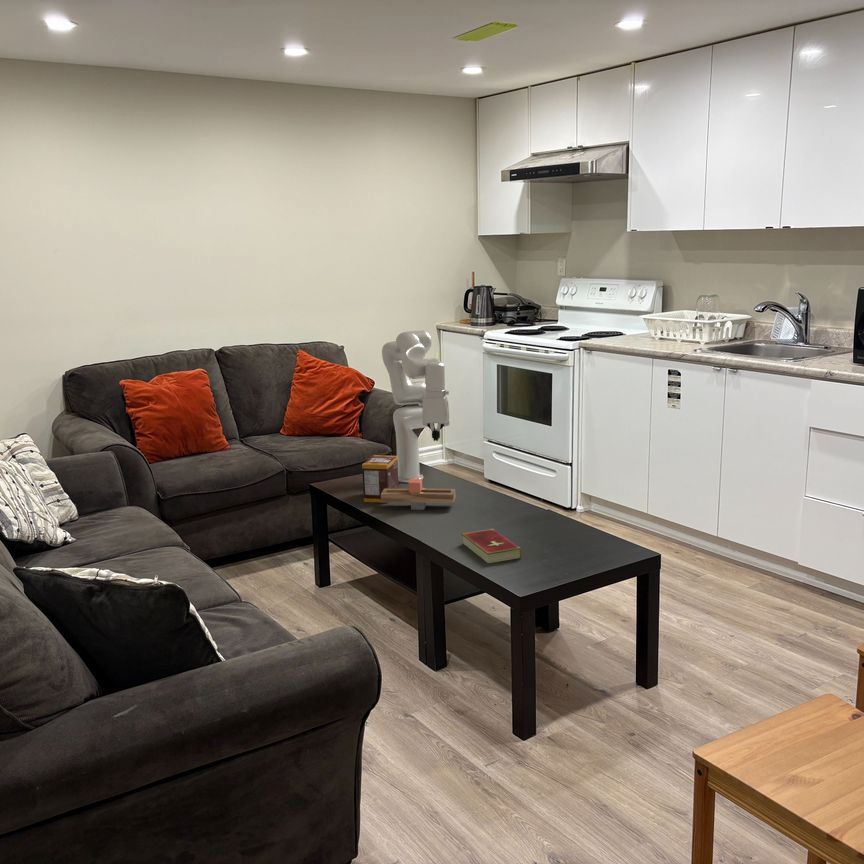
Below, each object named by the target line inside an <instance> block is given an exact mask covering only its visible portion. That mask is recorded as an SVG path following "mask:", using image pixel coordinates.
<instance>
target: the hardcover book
mask: <svg viewBox="0 0 864 864" xmlns="http://www.w3.org/2000/svg"><path fill="white" fill-rule="evenodd" d="M461 536H462V539H463V540H462V541H463V542H462V543H463V545H464V546H465V547H467V548H468V549H469V550H470V551H472V552H473V553H475V554H476V555H477V556H478V557H480V558H481V559H482V560H483V561H484V562H486V563H487V564H494V563H499V562H503V561H509V560H515V559H522V554H523V553H522V549H521V547H520V546H518V545H517V544H516V543H513V541H511V540H509V539H508V538H507V537H506V536H504V535H502V534H501V533H499V532H498V531H497V530H495V529H494V528H489V529H483V530H476V531H470V532H463V533H461Z"/></svg>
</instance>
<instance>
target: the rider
mask: <svg viewBox="0 0 864 864" xmlns="http://www.w3.org/2000/svg"><path fill="white" fill-rule="evenodd" d="M422 488H423V479H410V481H409V482H408V489H409V493H421V491H422Z"/></svg>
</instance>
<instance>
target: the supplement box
mask: <svg viewBox="0 0 864 864" xmlns="http://www.w3.org/2000/svg"><path fill="white" fill-rule="evenodd" d="M361 468H362V469H361V470H362V491H363V502H364V503H382V504H388V503H390V502H381V493H382V491H383V490H384V488H399V483H400V482H398V459H397V455H381V454H380V455H377V454H376V455H375V454H373V455H372V456H371V457H370V458H368V459H367V460H366V461H365V462H364V463H362V465H361Z"/></svg>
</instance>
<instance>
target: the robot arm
mask: <svg viewBox="0 0 864 864" xmlns="http://www.w3.org/2000/svg"><path fill="white" fill-rule="evenodd" d="M431 347H432V337H431V335H430V334H429V332H427V331H426V330H410V331H408V330H407V331H403V332H400V333H399V334H398V335H397V336H396V340H395V341H394V340H393V341H389V342H386V343H385V344H384V345H382V349H381V356H382V357H381V358H382V360H383V364H384V366H385V368H386V370H387V373H388V376H389V381H390V387H391V393H392V398H393V401H394V402H395V404H396V405H402V406H403V405H415V404H418V405H415V406H404V407H400V408H397V409H395V411H393V415H392V420H393V427H394V430H395V440H396V441H395V442H396V444H395V445H396V456H397V459H398V483H409V481H410V479H422V480H423V479H424V475H423V474H421V473H420V454H419V453H420V450H419V449H420V447H419V438H418V436H417V434H416V433H415V432H414V431H413V430H415V429H422V428H423V429H424V428H429V429H430V431H431V438H432V439H433V442H435V441H436V442H438V441H439V439H440V438H441V430H442V428H444V427H449V426H450V408H449V407H450V405H449V399H448V396H447V395H450V392H449V391H448V390H447V389H446V380H445V379H446V375H445V374H446V373H445V372H446V369H445V367H446V366H445V364H444V363H443V361H442V362H441V360H440V359H438V358H425V356H426V354H427V353H428V352H429V351H430V349H431ZM411 379H412V380H417V381H412V380H411ZM418 379H424V381H423V380H418ZM435 424H437V427H435Z"/></svg>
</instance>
